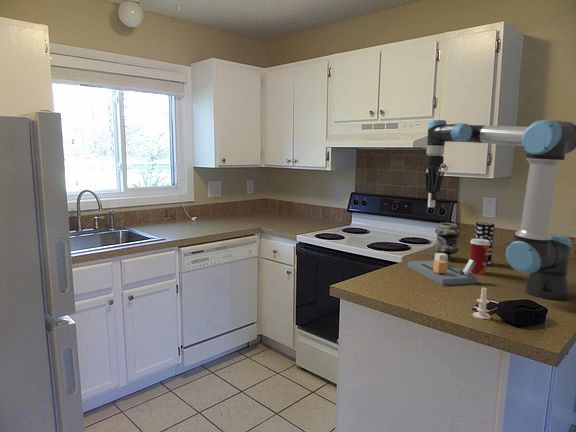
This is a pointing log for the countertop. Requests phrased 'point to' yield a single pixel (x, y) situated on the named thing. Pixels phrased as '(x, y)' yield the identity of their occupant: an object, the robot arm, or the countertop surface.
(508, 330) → the countertop surface
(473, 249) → the coffee cup
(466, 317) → the countertop surface
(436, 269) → the orange fader
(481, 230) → the white-spotted black cylinder
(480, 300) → the candle
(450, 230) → the apothecary jar
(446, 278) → the panel
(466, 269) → the paddle lever
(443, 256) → the block
